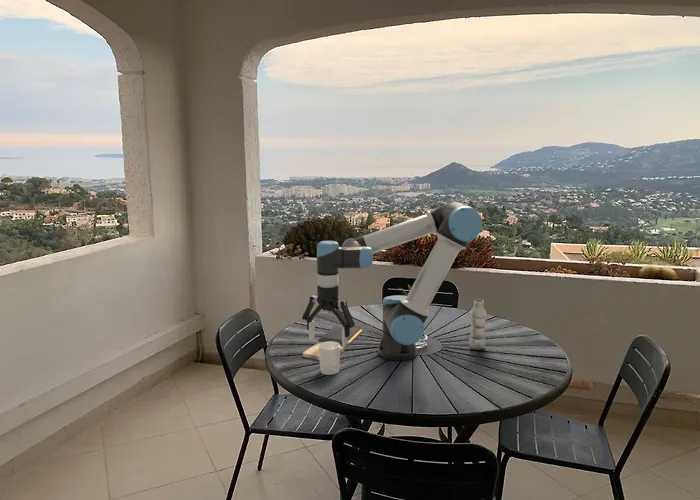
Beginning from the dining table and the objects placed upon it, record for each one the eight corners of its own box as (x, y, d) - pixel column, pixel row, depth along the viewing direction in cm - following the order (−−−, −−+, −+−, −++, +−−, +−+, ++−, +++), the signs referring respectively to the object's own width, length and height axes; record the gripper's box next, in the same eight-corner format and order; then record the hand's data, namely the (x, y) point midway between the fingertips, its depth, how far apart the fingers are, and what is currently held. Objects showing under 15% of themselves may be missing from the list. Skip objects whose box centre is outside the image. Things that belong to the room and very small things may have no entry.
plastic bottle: (488, 348, 214) (490, 300, 210) (480, 353, 209) (481, 304, 205) (474, 344, 219) (476, 297, 214) (465, 348, 214) (467, 300, 210)
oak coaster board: (344, 350, 213) (344, 347, 213) (329, 361, 203) (329, 358, 202) (318, 345, 219) (318, 342, 218) (302, 356, 208) (302, 352, 208)
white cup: (337, 376, 190) (337, 350, 188) (316, 374, 192) (315, 348, 190) (342, 367, 198) (342, 341, 196) (322, 365, 199) (321, 340, 197)
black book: (335, 323, 242) (366, 327, 236) (335, 327, 242) (366, 331, 237) (315, 338, 224) (348, 343, 218) (315, 342, 224) (349, 347, 218)
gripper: (364, 286, 186) (363, 344, 190) (303, 278, 197) (304, 332, 201) (354, 292, 179) (354, 351, 184) (292, 283, 190) (293, 339, 195)
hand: (328, 341), depth 193 cm, fingers open, 13 cm apart
